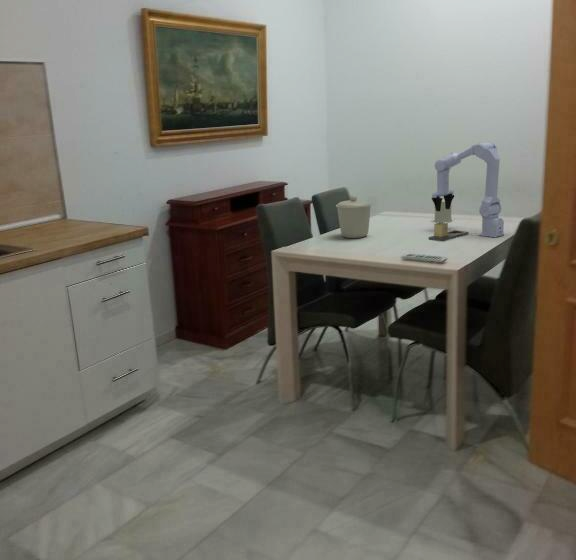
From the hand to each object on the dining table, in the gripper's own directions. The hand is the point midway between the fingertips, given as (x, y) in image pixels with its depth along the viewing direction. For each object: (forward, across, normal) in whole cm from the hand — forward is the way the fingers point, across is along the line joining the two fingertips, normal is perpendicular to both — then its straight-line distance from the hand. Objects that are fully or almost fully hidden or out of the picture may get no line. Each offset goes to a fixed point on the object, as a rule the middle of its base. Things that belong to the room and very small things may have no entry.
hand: (443, 210), depth 325 cm
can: (+10, -18, -14) cm, 26 cm away
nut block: (+10, +20, +14) cm, 26 cm away
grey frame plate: (+10, +14, +14) cm, 22 cm away
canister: (+10, +39, -25) cm, 47 cm away
